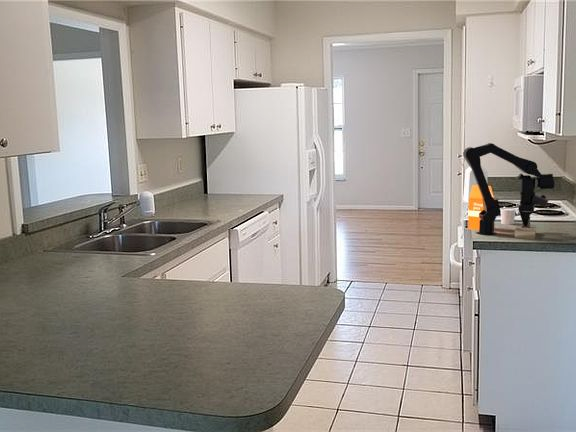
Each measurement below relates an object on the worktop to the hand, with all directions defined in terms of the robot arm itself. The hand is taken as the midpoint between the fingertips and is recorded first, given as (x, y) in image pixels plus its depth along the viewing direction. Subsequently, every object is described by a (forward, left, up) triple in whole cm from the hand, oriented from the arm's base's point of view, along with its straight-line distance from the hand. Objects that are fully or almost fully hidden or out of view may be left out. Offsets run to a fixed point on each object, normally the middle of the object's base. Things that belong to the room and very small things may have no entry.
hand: (526, 224), depth 276 cm
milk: (+71, +80, -4) cm, 107 cm away
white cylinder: (+18, +21, -4) cm, 28 cm away
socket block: (-3, -2, -4) cm, 5 cm away
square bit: (0, 0, -4) cm, 4 cm away
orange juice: (-3, +21, -4) cm, 22 cm away
